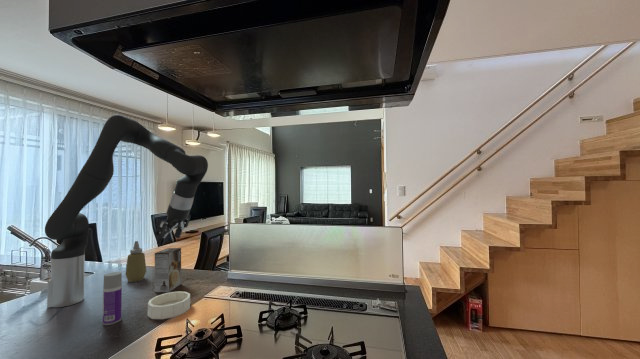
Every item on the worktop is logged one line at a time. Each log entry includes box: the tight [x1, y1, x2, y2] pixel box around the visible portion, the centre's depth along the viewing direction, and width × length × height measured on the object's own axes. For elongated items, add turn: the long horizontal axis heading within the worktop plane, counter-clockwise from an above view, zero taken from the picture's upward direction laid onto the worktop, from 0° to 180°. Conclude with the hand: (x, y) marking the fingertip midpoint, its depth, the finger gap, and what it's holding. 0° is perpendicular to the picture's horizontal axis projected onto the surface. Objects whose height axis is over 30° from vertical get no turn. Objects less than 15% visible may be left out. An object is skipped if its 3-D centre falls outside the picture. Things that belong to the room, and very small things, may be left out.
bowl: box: [147, 290, 191, 320], centre depth 92 cm, size 13×13×4 cm
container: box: [102, 271, 123, 326], centre depth 85 cm, size 5×5×15 cm
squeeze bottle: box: [124, 240, 147, 283], centre depth 123 cm, size 8×8×18 cm
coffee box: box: [154, 247, 182, 293], centre depth 113 cm, size 9×6×16 cm
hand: (168, 241), depth 103 cm, fingers open, 8 cm apart
